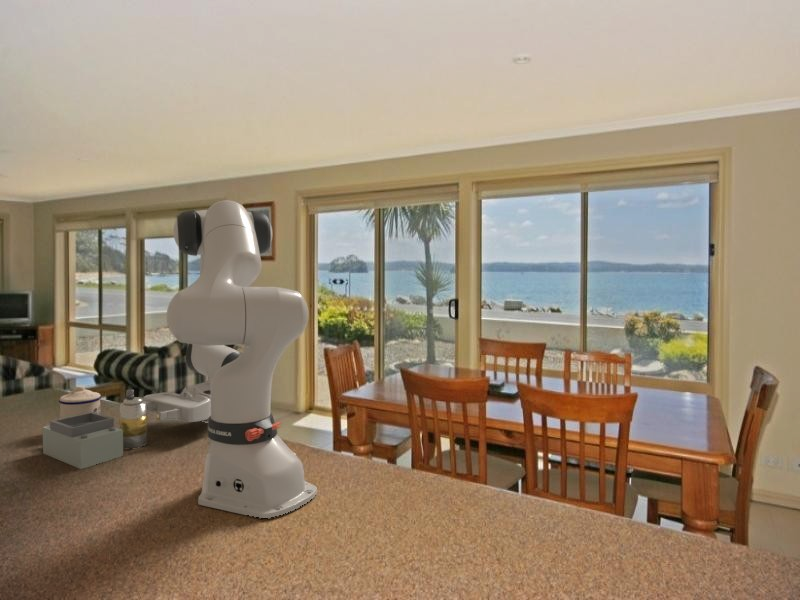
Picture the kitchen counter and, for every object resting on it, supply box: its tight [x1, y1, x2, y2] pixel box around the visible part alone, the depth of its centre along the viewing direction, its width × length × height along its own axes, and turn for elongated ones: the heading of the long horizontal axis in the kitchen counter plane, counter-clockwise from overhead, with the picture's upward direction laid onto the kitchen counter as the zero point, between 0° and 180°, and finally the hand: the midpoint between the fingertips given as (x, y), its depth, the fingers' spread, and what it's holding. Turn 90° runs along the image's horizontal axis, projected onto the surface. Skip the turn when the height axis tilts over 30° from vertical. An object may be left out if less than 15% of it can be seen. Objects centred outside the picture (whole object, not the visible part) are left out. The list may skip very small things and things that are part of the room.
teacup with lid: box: [58, 385, 102, 419], centre depth 134 cm, size 12×9×12 cm
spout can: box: [119, 388, 148, 449], centre depth 124 cm, size 6×6×13 cm
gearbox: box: [42, 412, 124, 470], centre depth 118 cm, size 20×9×8 cm, turn 58°
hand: (146, 413), depth 127 cm, fingers open, 8 cm apart
